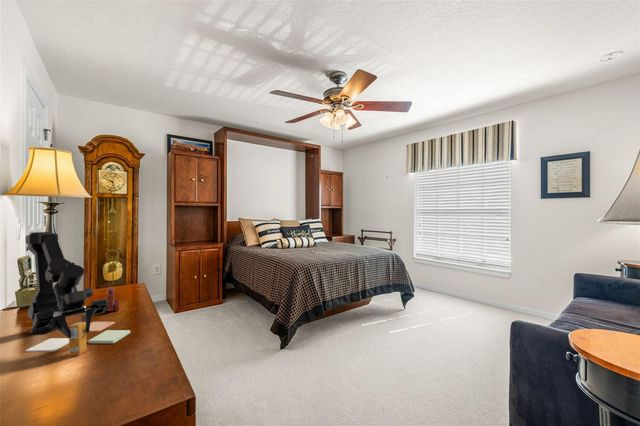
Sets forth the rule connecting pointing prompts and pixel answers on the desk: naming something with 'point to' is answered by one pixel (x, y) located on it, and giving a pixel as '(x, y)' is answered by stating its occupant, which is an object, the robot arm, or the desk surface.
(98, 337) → the sage tile
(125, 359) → the desk surface
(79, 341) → the supplement box
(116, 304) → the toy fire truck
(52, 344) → the white tile
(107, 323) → the terracotta tile
